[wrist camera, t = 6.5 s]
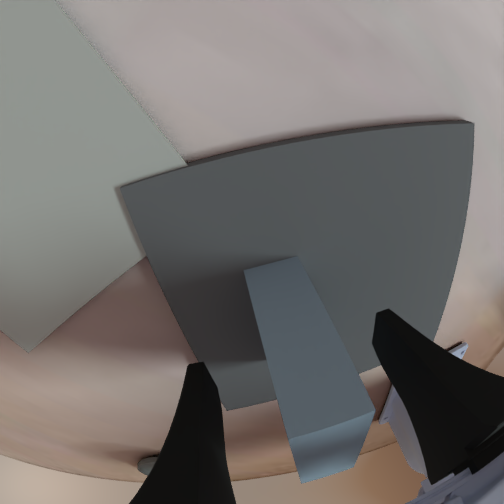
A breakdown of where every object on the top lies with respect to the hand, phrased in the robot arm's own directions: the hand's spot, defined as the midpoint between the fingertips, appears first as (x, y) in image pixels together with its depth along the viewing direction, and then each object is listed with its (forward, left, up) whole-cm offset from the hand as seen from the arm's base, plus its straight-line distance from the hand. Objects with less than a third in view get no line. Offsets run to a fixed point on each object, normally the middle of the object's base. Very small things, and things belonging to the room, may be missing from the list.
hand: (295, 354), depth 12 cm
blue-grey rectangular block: (0, 0, -2) cm, 2 cm away
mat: (0, -3, -3) cm, 4 cm away
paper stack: (+13, +17, -3) cm, 22 cm away
